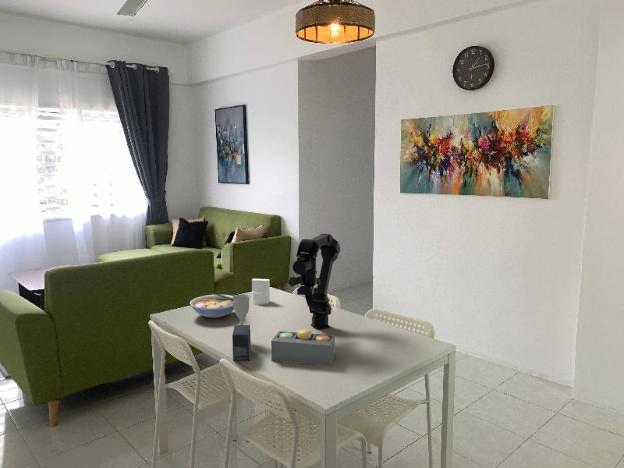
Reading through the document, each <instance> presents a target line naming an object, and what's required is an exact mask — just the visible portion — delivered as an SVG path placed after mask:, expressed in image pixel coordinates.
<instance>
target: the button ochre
mask: <svg viewBox="0 0 624 468" xmlns="http://www.w3.org/2000/svg"><path fill="white" fill-rule="evenodd" d="M297 332H298V339H302V340H311V333H312V330H311V329H308V328H303V329H299V330H298V329H297Z"/></svg>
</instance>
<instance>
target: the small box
mask: <svg viewBox="0 0 624 468" xmlns="http://www.w3.org/2000/svg"><path fill="white" fill-rule="evenodd" d="M231 338H232V339H231V340H232V341H231V342H232V343H231V344H232V362H248V361H251V354H252V343H251V342H252V341H251V340H252V339H251V324H243V325H241V324H234V326H233V330H232V337H231Z"/></svg>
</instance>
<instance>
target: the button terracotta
mask: <svg viewBox="0 0 624 468" xmlns="http://www.w3.org/2000/svg"><path fill="white" fill-rule="evenodd" d="M326 335H327V334H325V335H319V336H317V337H316V341H327V342H330V337H329V336H326Z"/></svg>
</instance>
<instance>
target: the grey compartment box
mask: <svg viewBox="0 0 624 468" xmlns="http://www.w3.org/2000/svg"><path fill="white" fill-rule="evenodd" d="M286 332H287V333H292V334H293V339H289V338H280V334H281V333H286ZM319 335H326V336H329V337H330V342H327V341H316V337H317V336H319ZM335 338H336V335H335V334H323V333H312V332H311V340H302V339H298V331H282V330H279V331H277V333H276V334H275V335H274V336H273V338H272V339H271V341H270V342H271V343H270V344H271V345H270V347H271V349H270V350H271V356H270V357H271V361H275V362H276V361H277V362H285V363H298V364H310V365H321V366H331V364H332V361H333V359H334V357H335V354H336V339H335Z"/></svg>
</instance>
